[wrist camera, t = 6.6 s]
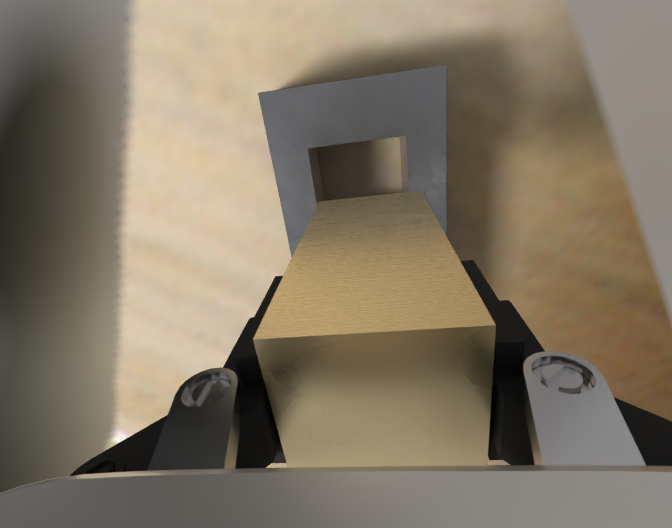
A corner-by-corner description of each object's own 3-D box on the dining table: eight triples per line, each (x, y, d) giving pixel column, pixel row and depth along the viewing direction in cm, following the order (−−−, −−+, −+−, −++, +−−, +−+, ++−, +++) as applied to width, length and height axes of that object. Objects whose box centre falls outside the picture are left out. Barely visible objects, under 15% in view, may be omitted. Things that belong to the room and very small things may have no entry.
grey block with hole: (432, 67, 22) (446, 64, 18) (436, 313, 30) (446, 344, 26) (274, 91, 23) (258, 92, 20) (317, 322, 31) (311, 353, 27)
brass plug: (420, 190, 15) (496, 325, 6) (423, 281, 17) (485, 489, 8) (318, 201, 16) (252, 339, 7) (332, 288, 18) (294, 489, 9)
